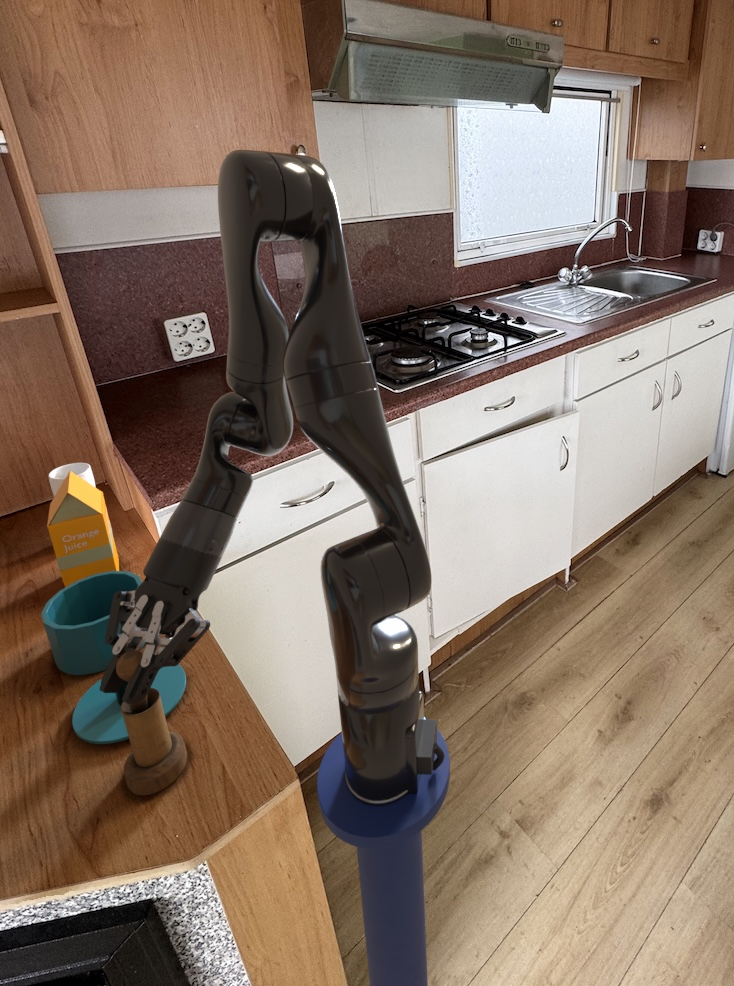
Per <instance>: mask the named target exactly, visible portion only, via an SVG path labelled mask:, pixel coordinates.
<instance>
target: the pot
mask: <svg viewBox="0 0 734 986" xmlns="http://www.w3.org/2000/svg"><path fill="white" fill-rule="evenodd" d="M142 582H143V580H142V579H141V577H140V575H138V574H135V573H133V572H131V571H126V570H119V571H110V572H104V573H99V574H94V575H92V576H89V577H86V578H84V579H81V580H78V581H76V582H74V583H72V584H71V585H69V586H67V587H65V586H64V588H61V589H60V590H59V591H58V592H57V593H55V594H54V595H53V596H52V597H51V598H50V599H49V600H47V602H46V603H45V605H44V606H43V609H42V611H41V613H40V616H41V620H42V624H43V627H44V630H45V633H46V637H47V639H48V643H49V646H50V649H51V653H52V656H53V659H54V662H55V665H56V667H57V668H58V670H60V672H63V673H64V674H67V675H71V676H72V675H73V676H87V675H92V674H96V673H100V672H105V671H106V670H107V667H108V665H109V663H110V661H111V659H112V657H113V655H114V654H113V652H112V650H113V648H112V647H111V645H109V644H105V636H106V631H107V626H108V621H109V616H110V611H111V606H112V601H113V596H114V594H115V593H116V592H117V591H126V592H129V591H134V590H136V589H137V587H138V586H139V585H140V584H141V583H142ZM120 629H121V624H120V623H119V629H118V634H120ZM133 638H134V637H133ZM133 638H132V639H133ZM132 639H131V640H130V641H132ZM145 645H146V643H145V640H144V642H143V643H142V645H141V646H140V648H139V649H138V650H139V651H141V649H142V648H143V647H144V646H145Z"/></svg>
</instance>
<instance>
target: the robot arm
mask: <svg viewBox="0 0 734 986" xmlns="http://www.w3.org/2000/svg"><path fill="white" fill-rule="evenodd" d="M217 210H218V223H219V233H220V234H219V235H220V242H221V254H222V267H223V273H224V283H225V293H226V301H227V314H228V336H227V338H228V339H227V349H226V368H225V379H226V383H227V385H228V387H229V388H230V389H231V390H232V391H229V392H227V393H225V394H223V395H221V396H220V397H219V398H218V399H217V400H216V401H215V402H214V403H213V404H212V406H211V408H210V410H209V413H208V417H207V421H206V428H205V433H204V440H203V444H202V448H201V452H200V457H199V459H198V460H199V461H198V464H197V467H196V470H195V472H194V475H193V476H192V478H191V481H190V482H189V484H188V486H187V489H186V490H185V492H184V495H183V496H182V498H181V500H180V502H179V504H178V505H177V507H176V508H175V509H174V511H173V512H172V514H171V515H170V517H169V519H168V521H167V523H166V525H165V527H164V529H163V531H162V532H161V534H160V537H159V538H158V540H157V542H156V544H155V546H154V548H153V550H152V552H151V554H150V556H149V559H148V560H147V562H146V564H145V566H144V568H143V571H142V573H143V575H144V576H145V578H144V580H142V583H141V584H140V585H139V586H138V587H137V589H136V590H134V591H129V592H126V591H117V592H116V593H115V594H114V596H113V601H112V606H111V611H110V616H109V621H108V626H107V631H106V636H105V644H109V645H111V647H112V648H113V650H112V652H113V654H114V655H113V657H112V659H111V661H110V663H109V665H108V667H107V669H106V670H104V674H103V675H102V677H101V679H102V680H101V686H100V691H102V692H104V693H116V692H118V691H119V690H120V688H121V686H122V684H123V682H124V680H123V679H121V678H120V677H119V676H118V675H117V672H116V665H117V662H118V660H119V659H120V657H121V656H122V655H123V654H125V653H126V652H129V651H132V650H138V649H139V648H140V646H141V645H142V643H143V642H144V640H145V647H144V650H143V653H144V654H143V656H142V659H141V666H137V669H136V671H135V673H134V675H133V677H132V679H131V681H130V683H129V685H128V687H127V689H126V691H125V693H124V696H123V698H122V701H123V702H125V703H127V704H136V703H139V702H141V701H142V699H144V698H145V697H146V696H147V694H148V692H149V689H150V688H151V685H152V684H153V681H154V679H155V677H156V675H157V673H158V671H159V670H160V669H161V668H162V667H170V666H177V665H178V664H179V665H180V663H181V662H182V660H183V659H184V658H185V657H186V656H187V655H188V653H190V651H191V650H192V649H193V648H194V647H195V646H196V645H197V643H198V642H199V641H200V640H201V639H202V637H203V636H204V635H205V634H206V633H207V632H208V630H209V629H210V627H211V622H210V620H207V619H203V618H202V617H201V616H200V614H199V613H198V612H197V611H198V609H199V602H200V601H199V600H200V596H201V595H202V594H203V593H204V592H205V591H207V590H208V589H209V587H210V584H211V582H212V580H213V577H214V576H215V574H216V571H217V570H218V567H219V565H220V563H221V560H222V559H223V556H224V554H225V552H226V549H227V548H228V545H229V543H230V541H231V538H232V536H233V532H234V530H235V528H236V527H235V526H236V523H237V521H238V518H239V517H240V514H241V512H242V509H243V508H244V505H245V503H246V501H247V499H248V497H249V495H250V493H251V490H252V488H253V484H254V477H253V475H252V474H251V473H250V472H249V471H247V470H246V469H244V468H243V467H240V466H238V465H237V464H235V463H233V462H232V461H231V460H230V458H229V451H230V447H231V446H232V447H234V448H237V449H241V450H244V451H247V452H250V453H252V454H256V455H259V456H263V457H273V456H275V455H277V454H279V453H281V452H282V451H283V450H285V448H286V447H287V446H288V444H289V443H290V441H291V438H292V435H293V430H294V420H295V421H296V423H297V426H298V427H299V429H300V430H301V432H303V434H304V435H305V437H307V439H308V440H309V441H310V442H311V443H312V444H313V445H314V446H315V447H317V449H318V450H319V451H320V452H322V453H323V454H324V455H325V456H326V457H328V459H330V460H331V461H332V462H333V463H334V464H335V465H337V466H338V467H339V468H340V469H341V470H342V471H343V472H344V473H345V474H347V476H348V477H349V478H350V479H351V480H352V482H354V483H355V485H356V486H357V487H358V488H359V490H360V491H361V492H362V494H363V496H364V498H365V499H366V502H367V504H368V505H369V508H370V509H371V510H370V511H371V513H372V516H373V518H374V522H375V527H376V528H374V529H372V530H369V531H366V532H364V533H362V534H358V535H356V536H354V537H350V538H349V539H346V540H344V541H341V542H339V543H336V544H334V545H332V546H330V547H327V549H325V551H324V552H323V554H322V556H321V560H320V566H319V567H320V568H319V571H320V572H319V573H320V583H321V590H322V595H323V600H324V606H325V612H326V617H327V624H328V631H329V632H328V634H329V638H330V646H331V649H332V650H331V651H332V655H333V659H334V667H335V669H334V670H335V677H336V678H335V679H336V688H337V698H338V708H339V709H338V710H339V717H340V726H341V727H340V729H341V730H340V731H341V733H342V740H343V750H344V759H345V778H346V784H347V787H348V789H349V791H350V793H351V794H352V795H353V796H354V797H355V798H356V799H357V800H358V801H360V802H362V803H364V804H367V805H371V806H385V805H389V804H392V803H395V802H397V801H399V800H401V799H402V798H404V797H405V796H406V795H408V794H417V793H418V788H419V782H420V776H421V774H423V775H432V770H436V769H437V768H438V767H439V766H440V765H441V764H442V763H443V760H444V752H443V750H442V749H441V748H440V746H439V745H438V744H437V743H436V742H437V729H438V720H437V719H427V718H426V717H425V704H424V702H425V701H424V700H425V699H424V692H423V691H421V690H420V675H419V674H420V673H419V643H418V637H417V634H416V631H415V630H414V628H413V627H412V625H411V624H410V623H409V622H408V621H407V620H405V619H404V618H402V617H400V616H397V615H399V614H400V613H402V612H404V611H406V610H408V609H411V608H412V607H414V606H415V605H418V604H419V603H421V602H422V601H424V600H426V598H428V596H429V594H430V592H431V590H432V579H433V576H432V569H431V564H430V558H429V555H428V554H429V553H428V551H427V547H426V544H425V542H424V537H423V535H422V532H421V529H420V527H419V524H418V521H417V517H416V515H415V512H414V509H413V507H412V504H411V501H410V498H409V495H408V493H407V490H406V486H405V483H404V480H403V478H402V475H401V472H400V469H399V465H398V462H397V458H396V455H395V451H394V448H393V444H392V443H393V442H392V439H391V436H390V435H391V434H390V431H389V428H388V424H387V420H386V415H385V411H384V406H383V401H382V397H381V393H380V389H379V384H378V381H377V377H376V372H375V369H374V366H373V362H372V358H371V354H370V352H369V349H368V345H367V341H366V337H365V333H364V331H363V327H362V322H361V318H360V316H359V312H358V311H359V310H358V307H357V302H356V298H355V295H354V291H353V284H352V281H351V277H350V276H351V275H350V271H349V265H348V259H347V253H346V247H345V241H344V235H343V234H344V233H343V229H342V223H341V217H340V210H339V205H338V200H337V196H336V192H335V188H334V185H333V182H332V179H331V177H330V175H329V172H328V170H327V168H326V167H325V166H324V165H323V163H321V162H320V160H318V159H317V158H315V157H313V156H309V155H304V154H303V155H302V154H295V153H287V152H277V151H276V152H275V151H265V150H253V149H235V150H232V151H230V152H229V153H227V154H226V156H225V157H224V159H223V160H222V162H221V165H220V168H219V175H218V182H217ZM267 242H268V243H271V242H278V243H279V242H297V243H298V245H299V248H300V251H301V255H302V261H303V268H304V289H303V294H302V298H301V301H300V304H299V307H298V311H297V313H296V315H295V318H294V321H293V324H292V326H291V329H290V330H289V325H288V323H287V320H286V318H285V316H284V314H283V312H282V310H281V309H280V307H279V305H278V303H277V302H276V300H275V299H274V297H273V296H272V294H271V292H270V290H269V289H268V287H267V285H266V283H265V280H264V279H263V276H262V273H261V269H260V264H259V254H260V253H259V252H260V246H261V243H267ZM293 415H294V416H293ZM294 418H295V419H294ZM119 623H120V624H121V629H120V634H118V629H119ZM160 635H164V636H163V637H161V636H160ZM133 637H134V638H133ZM132 638H133V639H132ZM131 639H132V641H130V640H131ZM435 754H436V755H437V758H436V759H435V760H434V756H435Z"/></svg>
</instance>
